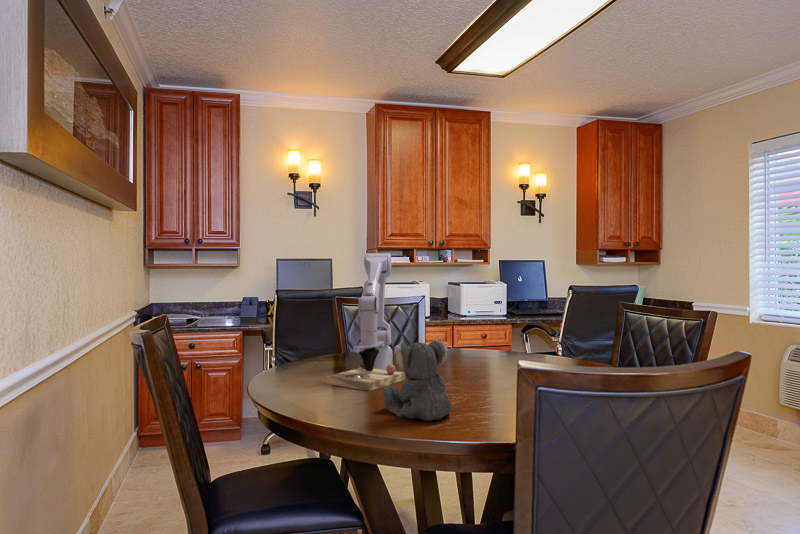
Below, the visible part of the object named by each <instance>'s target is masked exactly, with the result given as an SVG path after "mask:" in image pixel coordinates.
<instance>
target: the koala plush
mask: <svg viewBox="0 0 800 534" xmlns="http://www.w3.org/2000/svg"><path fill="white" fill-rule="evenodd" d="M393 350H394V354H395V362H396V364H397V365H398V366H399V368H400V369H401V370H403V372H405V378H407V380H406V381H405V382H404V383H403V385H402V386H401V387H400V390H399V389H398V388H397V387H396V386H394V385H387V386H384V388H383V389H382V399H383V405H384V408H385V410H386V411H388V412H389V413H391V414H394V415H396V416H397V417H399V418H407V419H409V420H414V419H420V420H422V421H426V422H431V421H439V420H441V419H442V418H443V417H446V416H448V415H449V414H450V413H451V411H452V402H451V400H450V397H449V395H448V394H447V392H446V388H447V387H446V384H445V381H444V378H443V377H442V376H441V375H440V374H438V373H437V372H438V368H439V367H441V366H442V365H443V363H445V362H446V360H447V359H448V356H449V355H448V352H450V350H449V349H448V347H447V344H445V342H444V341H443V340H441V339H439V338H437V339H435V340H432V341H430V343H428V344H426V343H425V342H414V343H412V344H410V345H408V346H407V345H406V344H403V343H402V344H396V345H395V346H394V349H393Z"/></svg>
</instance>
